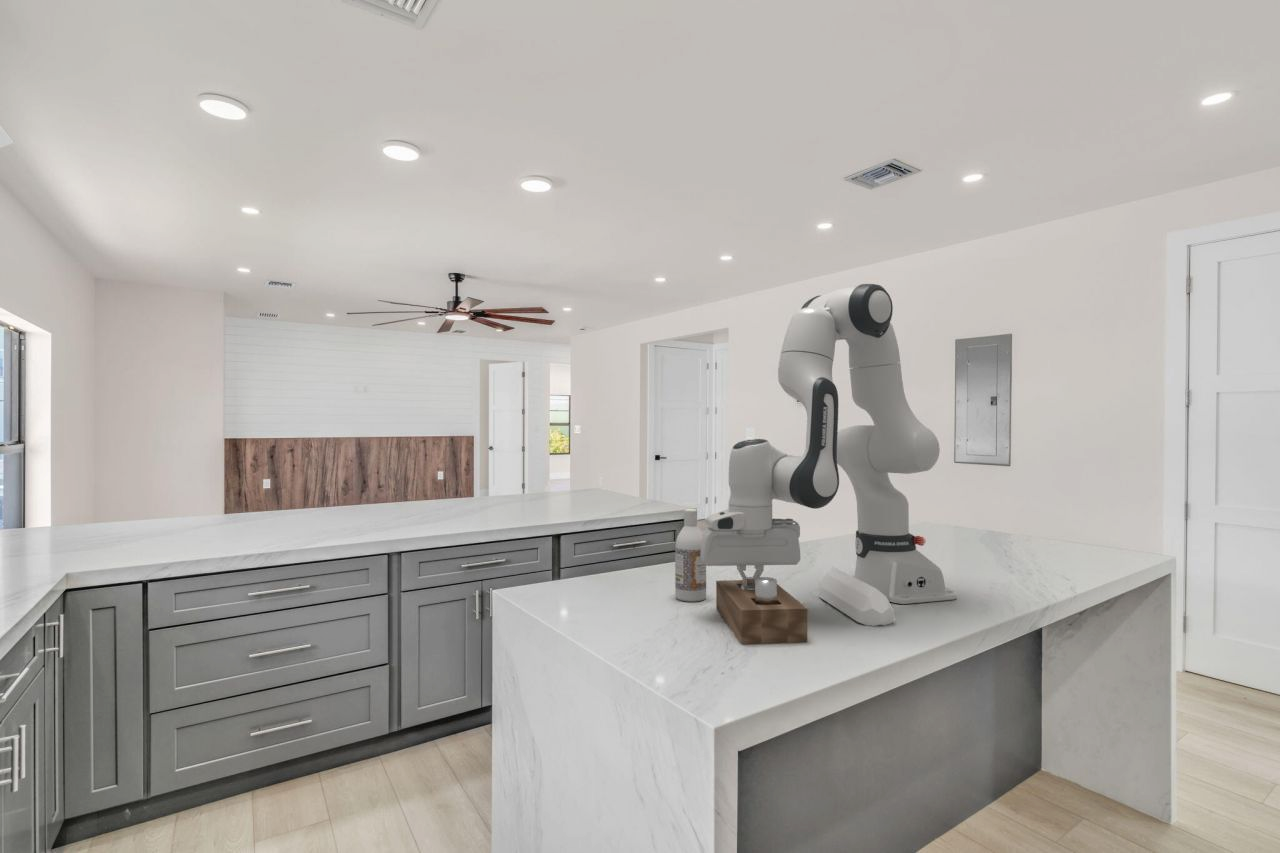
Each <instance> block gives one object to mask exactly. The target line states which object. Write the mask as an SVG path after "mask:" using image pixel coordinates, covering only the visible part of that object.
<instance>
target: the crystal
mask: <svg viewBox="0 0 1280 853" xmlns="http://www.w3.org/2000/svg"><path fill="white" fill-rule="evenodd" d="M817 596H818V597H819V598H820V599H822V600H824V601H825V602H826V603H828V604H830V605H831V606H833V607H834V608H836V609H837V610H839V611H840V612H841V613H843V614H845V615H846V616H848V617H850V618H851V619H853V620H854V621H855V622H857V623H860V624H861V625H865V626H868V625H872V626H871V627H879V626H878V625H884V626H887V625H886V624H889V625H890V624H892V623H893V622H895V609H894V608H893V606H892V604H891V603H890V602H889V601H888V599H887V597H886V596H885V595H884V594H882V593H881V592H880V591H879V590H877V589H876V588H874V587H872V586H870V585H868V584H866V583H864V582H862V581H860V580H858V579H856V578H854V576H852V575H850V574H848V573H846V572H844V571H842V570H840V569H839V568H837V567H834V566H833V567H832V568H830V569H829V570H828V571H826V573H825V575H824V577H823V579H822V580H821V582H820V585H818V589H817Z"/></svg>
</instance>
